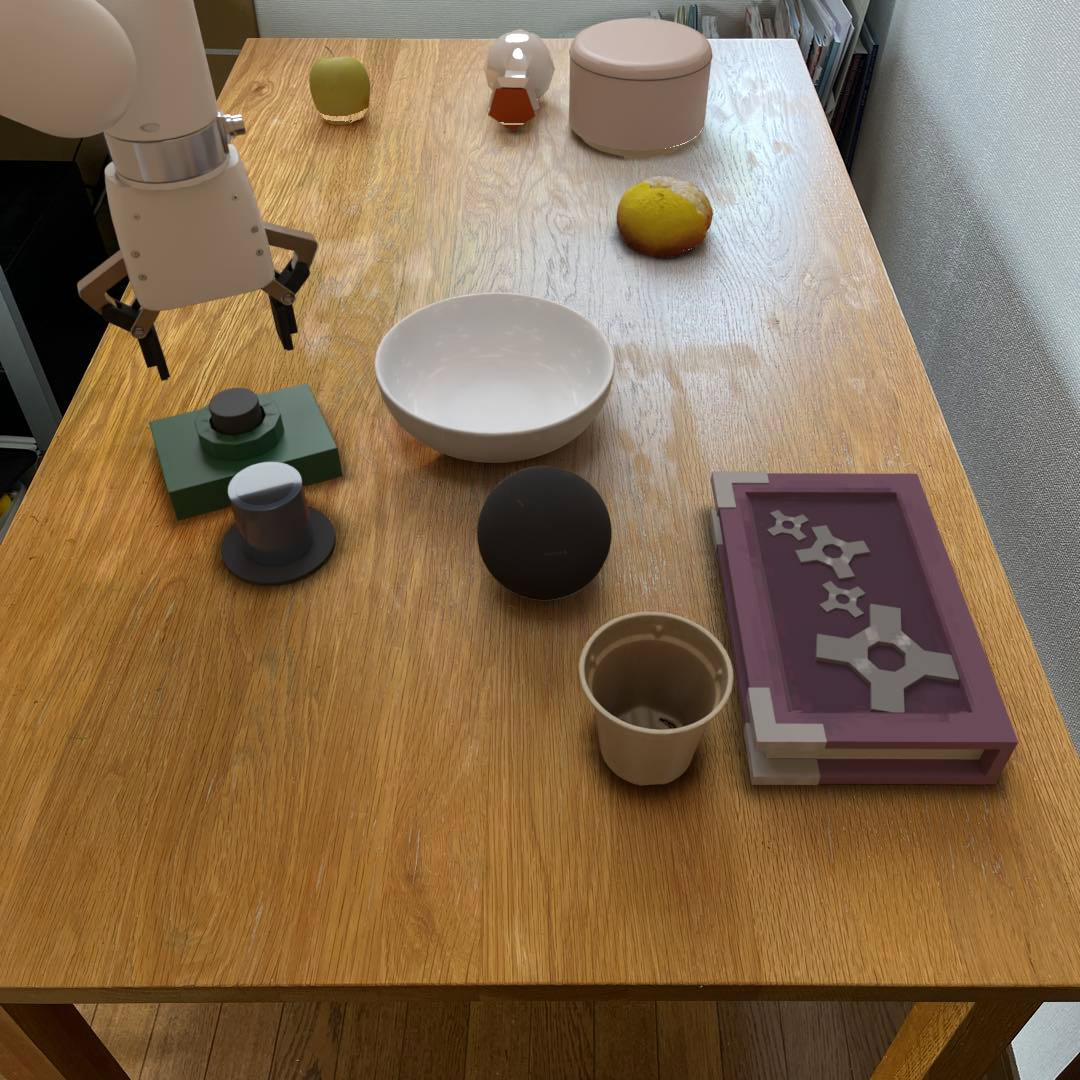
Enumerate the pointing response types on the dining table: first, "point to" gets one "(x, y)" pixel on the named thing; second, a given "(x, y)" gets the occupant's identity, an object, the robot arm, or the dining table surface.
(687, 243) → the fruit
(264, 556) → the tumbler
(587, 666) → the flower pot
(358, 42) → the dining table surface
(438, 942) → the dining table surface
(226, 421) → the dark grey short cylinder
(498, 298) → the serving bowl
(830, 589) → the book
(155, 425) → the green base stand
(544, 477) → the speaker
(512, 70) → the potion bottle
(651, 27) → the container
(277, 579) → the coaster
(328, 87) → the apple
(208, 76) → the robot arm
